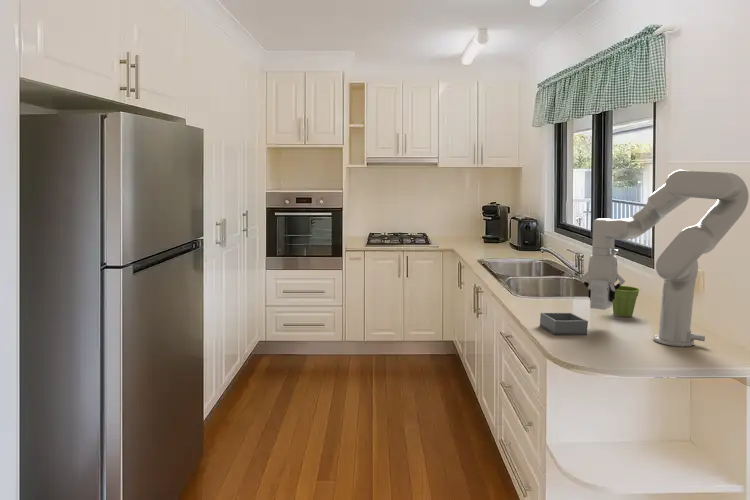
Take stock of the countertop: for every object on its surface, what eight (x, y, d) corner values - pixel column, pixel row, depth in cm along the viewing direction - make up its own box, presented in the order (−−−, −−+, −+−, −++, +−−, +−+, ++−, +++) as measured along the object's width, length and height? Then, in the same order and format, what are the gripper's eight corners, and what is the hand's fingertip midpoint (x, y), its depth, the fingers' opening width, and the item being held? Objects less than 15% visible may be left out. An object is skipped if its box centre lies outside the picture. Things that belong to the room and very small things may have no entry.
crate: (570, 325, 231) (571, 312, 230) (586, 334, 218) (587, 321, 217) (539, 326, 229) (540, 312, 229) (554, 335, 216) (555, 321, 216)
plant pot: (608, 310, 260) (610, 284, 259) (638, 314, 255) (641, 287, 254) (605, 316, 250) (607, 288, 248) (637, 320, 245) (639, 291, 243)
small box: (597, 305, 234) (598, 277, 233) (612, 306, 230) (613, 278, 229) (589, 308, 228) (590, 279, 227) (604, 310, 224) (606, 281, 223)
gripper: (629, 252, 227) (627, 301, 228) (580, 250, 234) (578, 297, 236) (627, 254, 220) (625, 304, 222) (576, 252, 228) (575, 300, 229)
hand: (601, 300), depth 229 cm, fingers closed on small box, 6 cm apart
